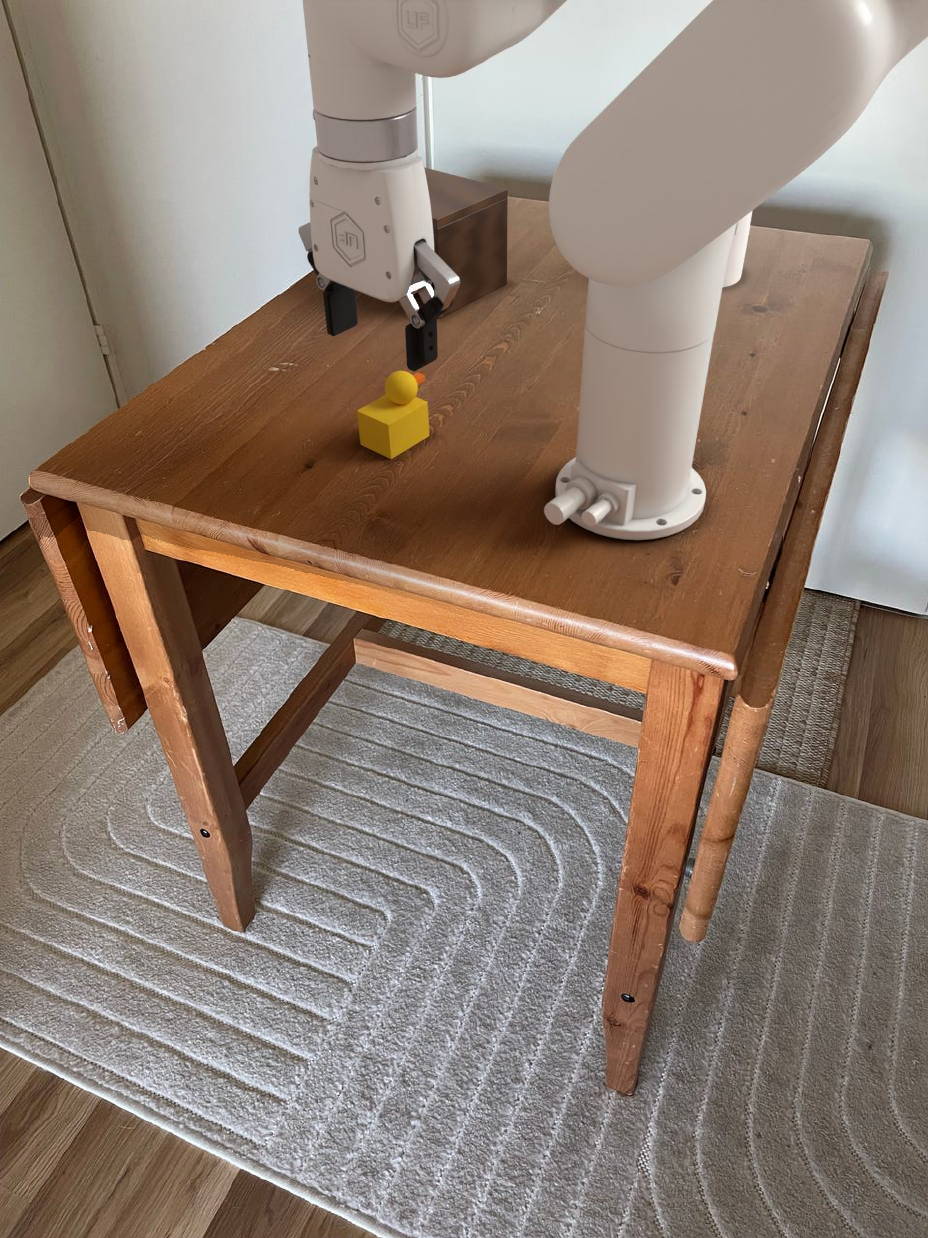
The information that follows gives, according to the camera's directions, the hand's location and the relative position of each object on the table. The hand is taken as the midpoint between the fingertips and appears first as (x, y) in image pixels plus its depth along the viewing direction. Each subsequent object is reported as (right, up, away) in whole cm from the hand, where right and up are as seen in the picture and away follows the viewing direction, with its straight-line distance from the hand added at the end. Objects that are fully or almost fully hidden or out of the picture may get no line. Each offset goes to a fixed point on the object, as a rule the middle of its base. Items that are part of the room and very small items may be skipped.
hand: (381, 346), depth 81 cm
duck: (+1, -7, +6) cm, 9 cm away
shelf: (+2, +17, +32) cm, 37 cm away
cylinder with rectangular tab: (+36, +18, +33) cm, 52 cm away
